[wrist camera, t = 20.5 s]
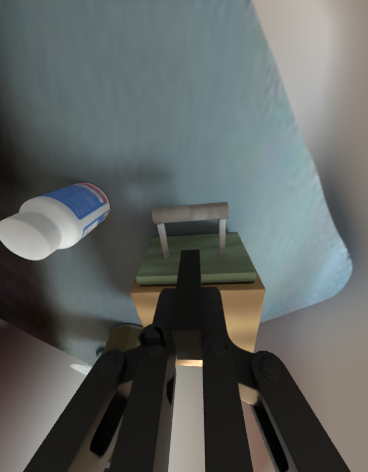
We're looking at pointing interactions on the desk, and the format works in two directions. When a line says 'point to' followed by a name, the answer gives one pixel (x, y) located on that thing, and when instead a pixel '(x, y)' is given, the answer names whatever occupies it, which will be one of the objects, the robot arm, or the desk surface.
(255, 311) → the cabinet
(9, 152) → the desk surface
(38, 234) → the pill bottle
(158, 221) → the storage drawer
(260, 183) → the desk surface
